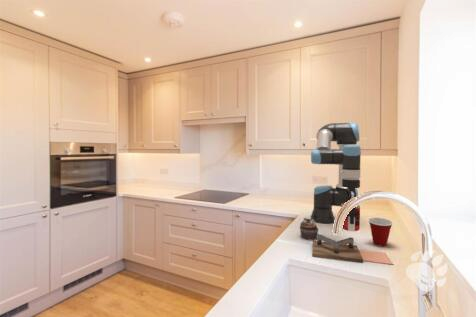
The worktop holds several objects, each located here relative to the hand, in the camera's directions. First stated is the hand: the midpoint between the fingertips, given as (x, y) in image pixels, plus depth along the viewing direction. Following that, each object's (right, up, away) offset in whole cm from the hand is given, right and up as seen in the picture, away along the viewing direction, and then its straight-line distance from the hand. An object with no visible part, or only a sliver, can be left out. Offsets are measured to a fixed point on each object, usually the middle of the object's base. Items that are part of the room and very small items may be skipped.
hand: (350, 227), depth 112 cm
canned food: (0, 0, 0) cm, 0 cm away
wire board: (-7, -11, -1) cm, 13 cm away
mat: (+8, -11, -6) cm, 15 cm away
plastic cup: (+19, -11, +9) cm, 24 cm away
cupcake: (-13, -11, +19) cm, 25 cm away
